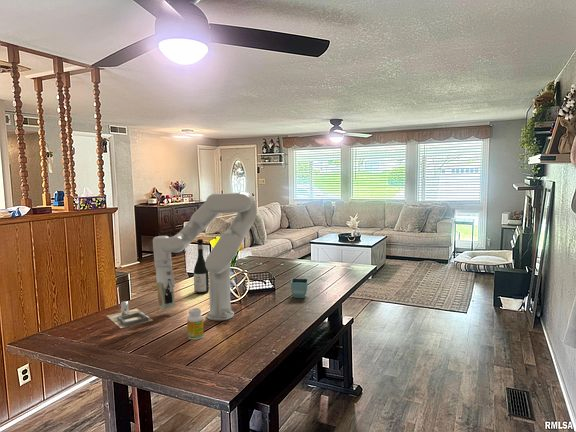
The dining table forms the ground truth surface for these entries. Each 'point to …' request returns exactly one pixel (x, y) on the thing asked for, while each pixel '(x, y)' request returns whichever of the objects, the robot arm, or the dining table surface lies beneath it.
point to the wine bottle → (201, 272)
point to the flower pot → (299, 287)
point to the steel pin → (124, 308)
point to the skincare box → (162, 297)
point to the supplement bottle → (195, 324)
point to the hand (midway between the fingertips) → (166, 301)
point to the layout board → (129, 318)
